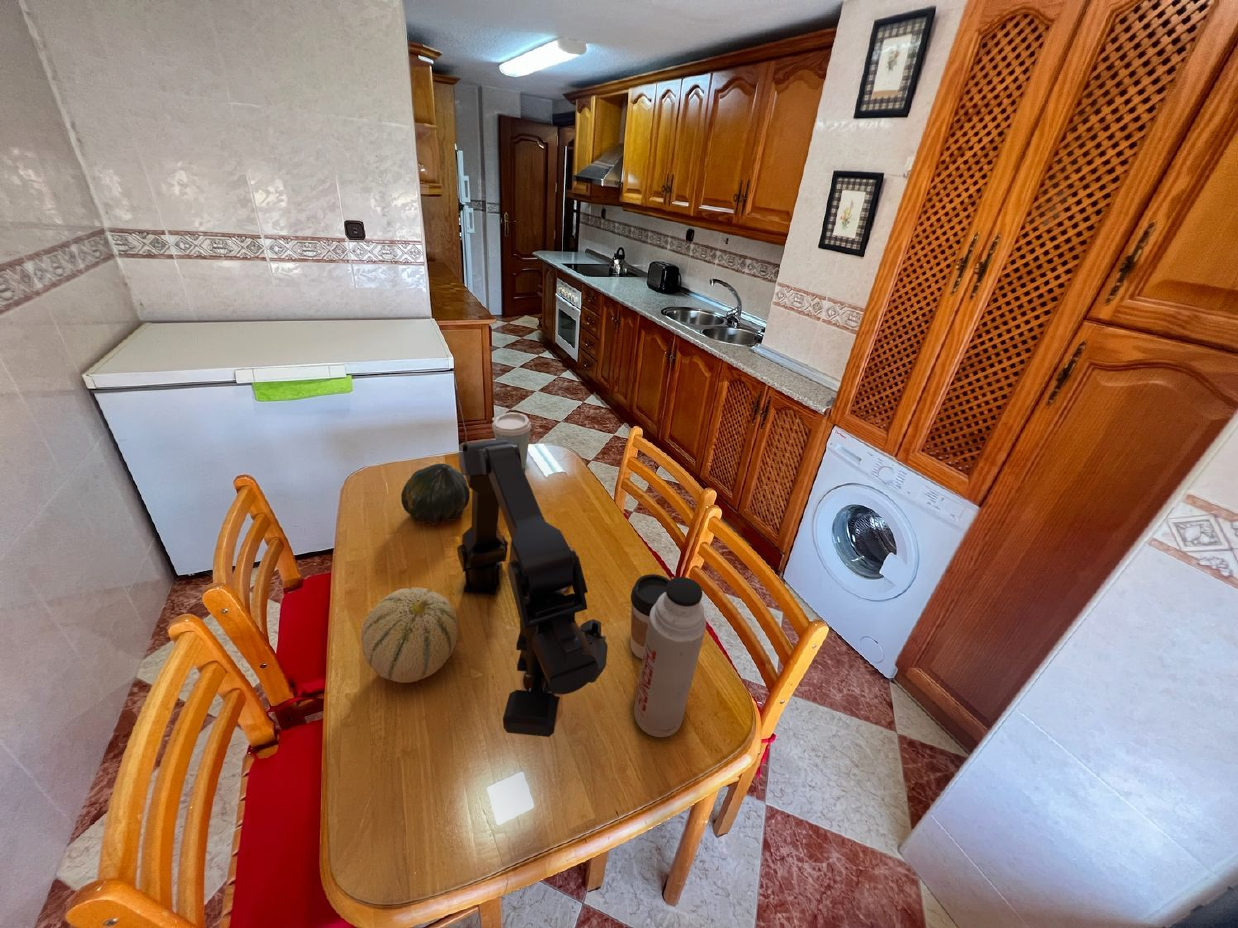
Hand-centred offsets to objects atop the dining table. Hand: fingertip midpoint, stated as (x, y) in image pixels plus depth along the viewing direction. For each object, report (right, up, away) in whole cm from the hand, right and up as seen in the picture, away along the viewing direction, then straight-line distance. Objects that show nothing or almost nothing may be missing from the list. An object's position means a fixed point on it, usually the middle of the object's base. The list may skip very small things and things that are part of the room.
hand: (542, 700), depth 71 cm
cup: (0, -2, +1) cm, 2 cm away
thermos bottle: (+17, -7, +10) cm, 21 cm away
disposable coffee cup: (-20, +33, +71) cm, 81 cm away
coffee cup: (+16, 0, +21) cm, 27 cm away
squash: (-33, +22, +50) cm, 63 cm away
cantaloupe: (-24, 0, +14) cm, 28 cm away
